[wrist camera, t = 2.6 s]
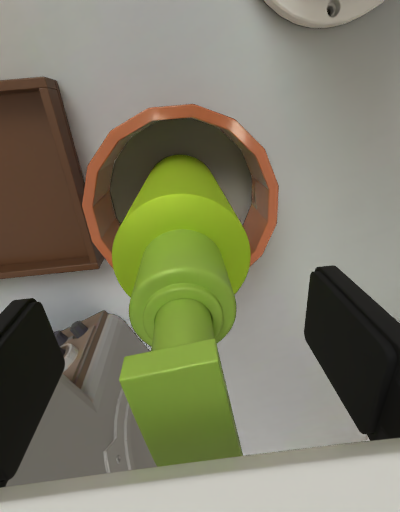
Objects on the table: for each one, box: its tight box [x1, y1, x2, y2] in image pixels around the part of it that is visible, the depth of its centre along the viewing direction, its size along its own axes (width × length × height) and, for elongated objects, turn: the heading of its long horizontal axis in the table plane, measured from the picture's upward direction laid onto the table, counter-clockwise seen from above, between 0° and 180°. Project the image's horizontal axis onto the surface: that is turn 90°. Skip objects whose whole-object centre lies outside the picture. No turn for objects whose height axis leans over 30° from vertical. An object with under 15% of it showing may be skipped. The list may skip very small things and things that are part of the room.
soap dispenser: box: [112, 155, 251, 467], centre depth 15 cm, size 6×7×20 cm
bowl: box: [82, 104, 279, 268], centre depth 21 cm, size 13×13×5 cm
